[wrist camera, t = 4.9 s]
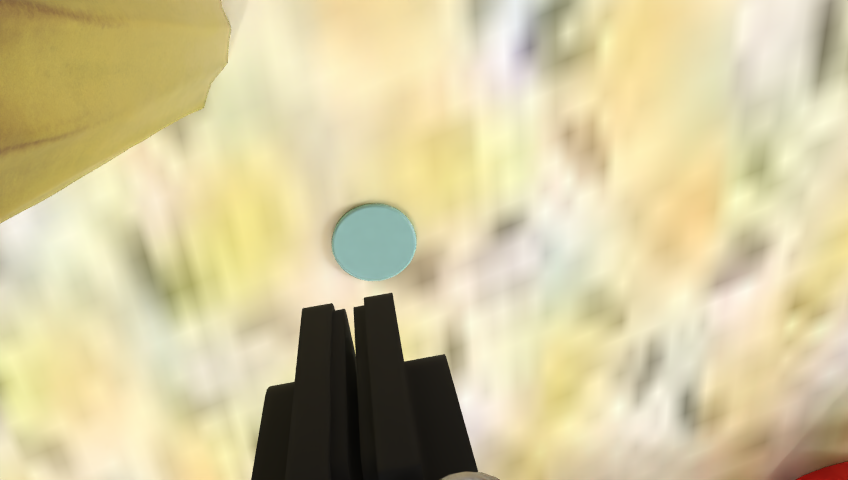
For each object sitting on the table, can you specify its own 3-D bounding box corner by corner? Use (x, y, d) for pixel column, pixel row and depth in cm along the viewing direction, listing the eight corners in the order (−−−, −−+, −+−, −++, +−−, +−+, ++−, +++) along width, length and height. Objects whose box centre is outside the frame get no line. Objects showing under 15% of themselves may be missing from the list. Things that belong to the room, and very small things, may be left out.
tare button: (325, 196, 17) (324, 212, 16) (406, 184, 18) (411, 199, 16) (340, 268, 19) (340, 288, 17) (416, 255, 19) (421, 274, 18)
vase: (-9, -57, 15) (-2059, -462, 2) (199, -132, 15) (-627, -967, 2) (110, 147, 18) (-533, 526, 5) (289, 83, 18) (144, 283, 5)
